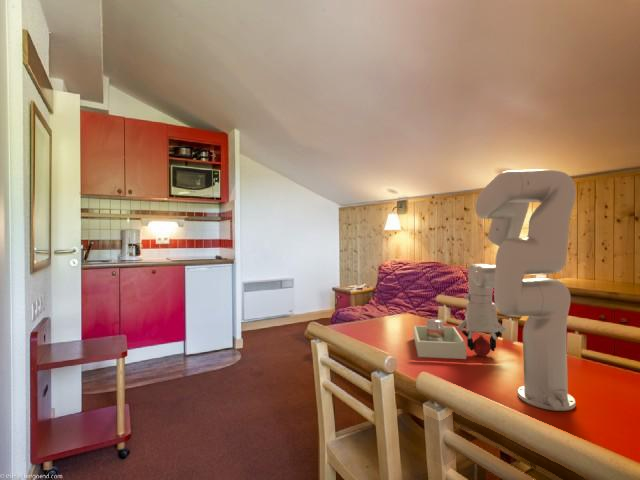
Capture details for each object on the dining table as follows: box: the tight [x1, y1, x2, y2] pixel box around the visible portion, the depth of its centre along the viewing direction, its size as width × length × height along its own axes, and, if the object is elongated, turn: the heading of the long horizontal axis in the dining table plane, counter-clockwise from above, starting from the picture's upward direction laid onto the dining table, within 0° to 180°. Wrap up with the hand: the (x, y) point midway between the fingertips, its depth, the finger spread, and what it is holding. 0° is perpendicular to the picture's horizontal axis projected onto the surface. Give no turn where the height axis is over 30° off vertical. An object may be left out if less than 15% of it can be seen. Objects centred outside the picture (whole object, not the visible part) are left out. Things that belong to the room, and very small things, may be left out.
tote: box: [413, 325, 467, 360], centre depth 131 cm, size 22×16×6 cm
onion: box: [472, 334, 491, 358], centre depth 121 cm, size 6×6×8 cm
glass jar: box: [426, 318, 445, 342], centre depth 137 cm, size 6×6×9 cm
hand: (481, 349), depth 121 cm, fingers open, 6 cm apart
